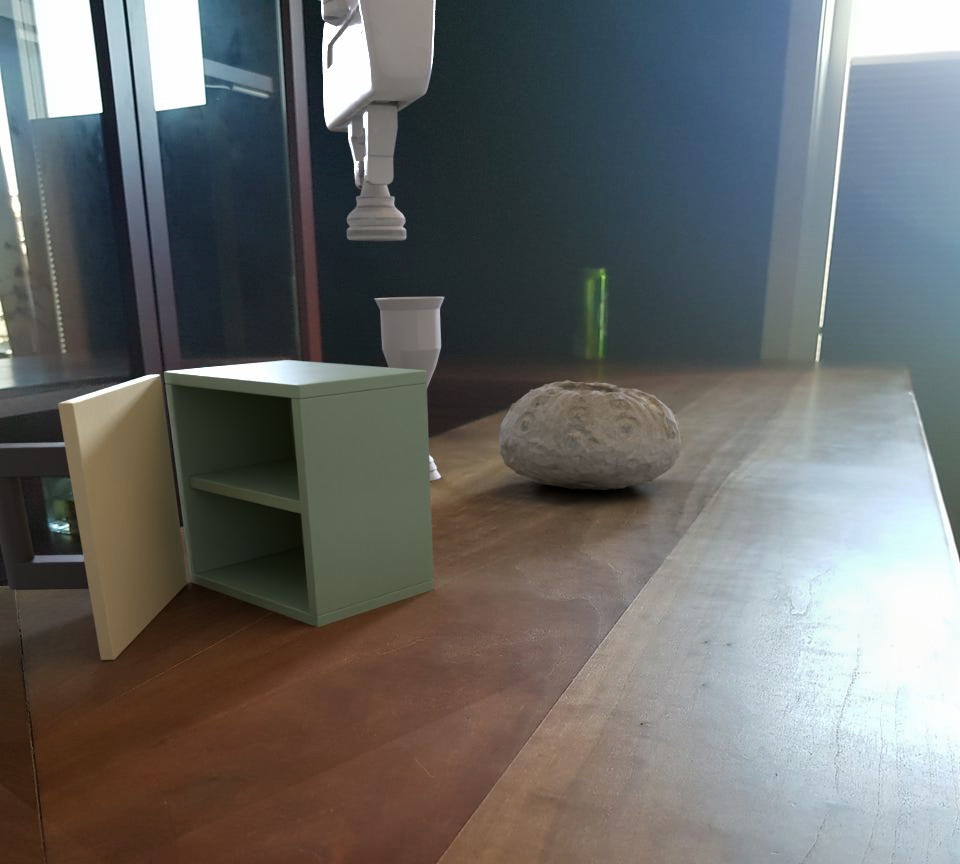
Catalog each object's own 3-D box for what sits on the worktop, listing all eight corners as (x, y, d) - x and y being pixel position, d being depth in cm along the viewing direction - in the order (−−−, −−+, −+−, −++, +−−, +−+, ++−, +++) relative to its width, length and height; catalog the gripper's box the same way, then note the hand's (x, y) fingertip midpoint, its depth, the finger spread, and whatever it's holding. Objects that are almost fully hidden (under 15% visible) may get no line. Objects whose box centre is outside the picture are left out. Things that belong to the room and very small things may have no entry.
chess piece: (335, 239, 72) (328, 85, 68) (366, 241, 76) (360, 94, 72) (387, 238, 70) (382, 79, 67) (417, 240, 74) (413, 90, 70)
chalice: (414, 468, 109) (406, 296, 102) (463, 474, 105) (458, 296, 98) (370, 480, 103) (359, 299, 97) (420, 486, 99) (412, 299, 93)
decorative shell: (678, 470, 105) (683, 374, 101) (680, 508, 88) (686, 395, 85) (512, 468, 108) (512, 374, 104) (485, 504, 91) (483, 394, 88)
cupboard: (318, 628, 60) (298, 384, 55) (190, 583, 70) (163, 371, 64) (434, 590, 67) (426, 370, 62) (303, 553, 76) (287, 359, 71)
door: (7, 662, 55) (-46, 405, 50) (101, 584, 69) (67, 376, 64) (114, 660, 55) (72, 402, 50) (187, 583, 69) (160, 374, 64)
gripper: (299, -2, 75) (310, 196, 80) (346, -91, 57) (357, 172, 62) (380, 4, 77) (386, 197, 82) (451, -80, 58) (453, 175, 63)
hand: (374, 187), depth 71 cm, fingers closed on chess piece, 2 cm apart
